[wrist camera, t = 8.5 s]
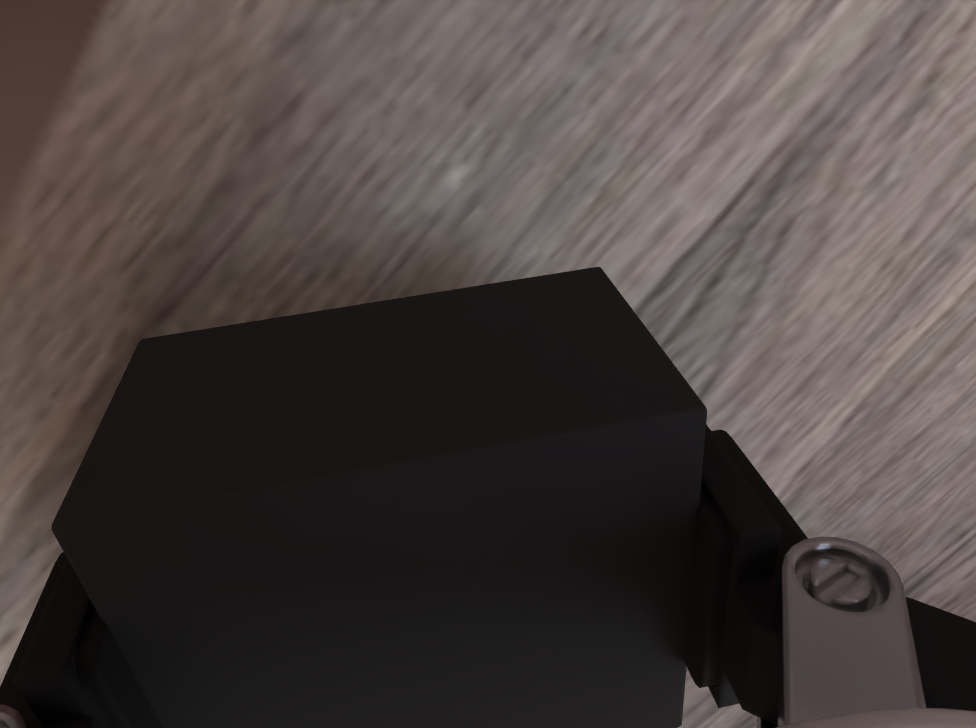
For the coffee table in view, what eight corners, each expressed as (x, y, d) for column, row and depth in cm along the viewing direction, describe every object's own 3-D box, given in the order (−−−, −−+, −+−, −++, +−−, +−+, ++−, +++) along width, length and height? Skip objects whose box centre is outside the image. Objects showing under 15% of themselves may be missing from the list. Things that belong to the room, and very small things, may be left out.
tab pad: (138, 337, 11) (47, 528, 7) (601, 265, 11) (710, 408, 8) (281, 701, 15) (265, 919, 12) (604, 633, 16) (675, 822, 13)
